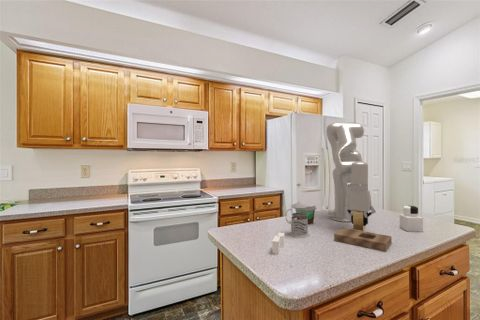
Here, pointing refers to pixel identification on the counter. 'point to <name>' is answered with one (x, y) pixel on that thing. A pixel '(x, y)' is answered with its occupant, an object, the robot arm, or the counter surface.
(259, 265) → the counter surface
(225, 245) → the counter surface
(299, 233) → the french press
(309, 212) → the food container
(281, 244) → the napkin holder
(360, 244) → the walnut square hole board
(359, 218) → the brass peg
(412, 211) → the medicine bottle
